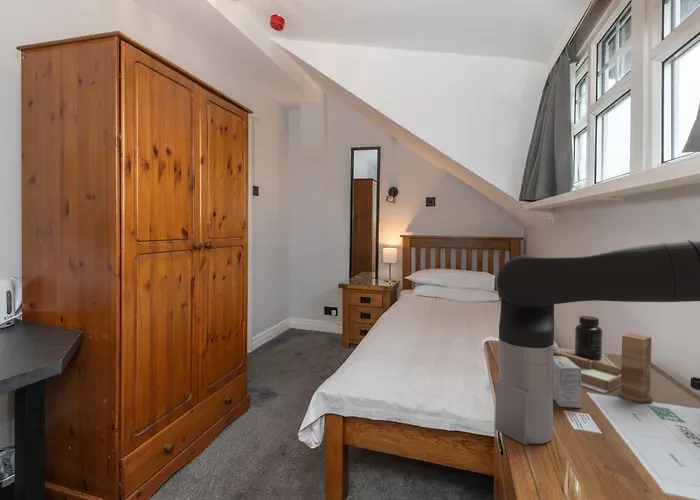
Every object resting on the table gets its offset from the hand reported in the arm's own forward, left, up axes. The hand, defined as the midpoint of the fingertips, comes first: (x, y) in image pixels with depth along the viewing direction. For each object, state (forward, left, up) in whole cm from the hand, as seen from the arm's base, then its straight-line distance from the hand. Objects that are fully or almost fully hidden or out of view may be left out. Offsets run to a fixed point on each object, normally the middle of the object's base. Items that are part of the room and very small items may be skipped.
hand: (698, 377), depth 70 cm
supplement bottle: (+20, +29, -8) cm, 37 cm away
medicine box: (-15, +18, -8) cm, 25 cm away
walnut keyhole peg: (0, +10, -8) cm, 13 cm away
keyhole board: (+4, +24, -8) cm, 26 cm away
